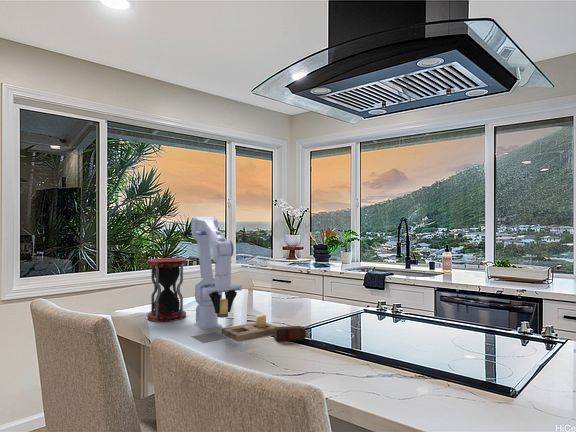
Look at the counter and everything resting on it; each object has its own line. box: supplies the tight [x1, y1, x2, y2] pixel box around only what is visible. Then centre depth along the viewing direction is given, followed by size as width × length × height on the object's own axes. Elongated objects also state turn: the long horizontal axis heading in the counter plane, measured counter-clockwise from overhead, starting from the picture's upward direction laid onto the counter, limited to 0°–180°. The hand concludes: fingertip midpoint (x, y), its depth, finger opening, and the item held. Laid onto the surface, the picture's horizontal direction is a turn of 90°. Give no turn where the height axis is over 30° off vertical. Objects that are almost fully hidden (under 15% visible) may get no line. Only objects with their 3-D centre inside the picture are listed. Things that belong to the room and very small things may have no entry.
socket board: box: [221, 321, 278, 342], centre depth 154 cm, size 12×18×2 cm, turn 127°
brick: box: [273, 325, 307, 343], centre depth 146 cm, size 11×4×5 cm, turn 106°
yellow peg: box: [217, 298, 229, 319], centre depth 149 cm, size 4×4×6 cm
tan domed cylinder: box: [255, 314, 267, 329], centre depth 157 cm, size 4×4×6 cm
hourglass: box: [146, 257, 187, 323], centre depth 179 cm, size 16×16×25 cm
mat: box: [190, 331, 229, 344], centre depth 148 cm, size 10×10×1 cm
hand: (222, 312), depth 149 cm, fingers closed on yellow peg, 4 cm apart
